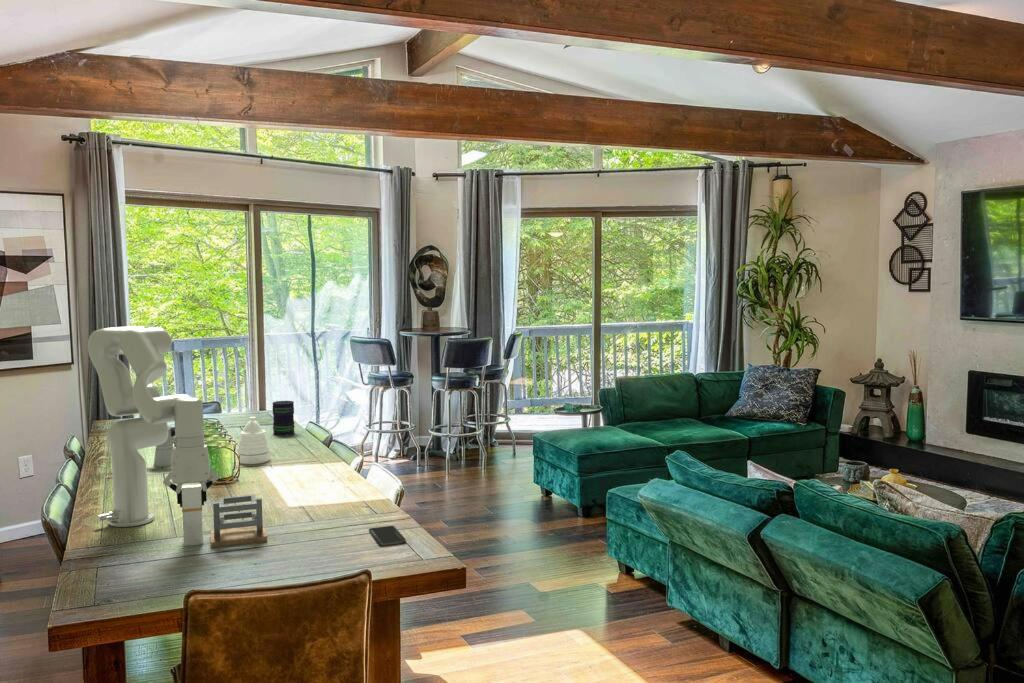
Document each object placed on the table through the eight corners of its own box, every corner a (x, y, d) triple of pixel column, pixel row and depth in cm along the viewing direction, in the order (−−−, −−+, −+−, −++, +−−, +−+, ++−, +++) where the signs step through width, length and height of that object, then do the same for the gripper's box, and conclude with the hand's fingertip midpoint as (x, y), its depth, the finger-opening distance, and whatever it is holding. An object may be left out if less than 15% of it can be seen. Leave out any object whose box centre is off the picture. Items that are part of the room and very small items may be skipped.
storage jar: (272, 432, 389) (272, 401, 388) (294, 430, 392) (293, 400, 391) (273, 436, 380) (272, 404, 378) (295, 434, 383) (294, 403, 381)
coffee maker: (143, 466, 322) (142, 421, 321) (158, 461, 331) (156, 417, 329) (176, 468, 319) (175, 422, 317) (190, 463, 327) (189, 418, 326)
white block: (183, 546, 228) (181, 490, 227) (184, 540, 233) (181, 485, 231) (203, 544, 230) (201, 488, 228) (203, 538, 235) (201, 483, 233)
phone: (379, 544, 227) (368, 528, 241) (379, 548, 227) (368, 532, 241) (407, 540, 230) (394, 525, 244) (407, 544, 230) (394, 529, 244)
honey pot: (271, 462, 328) (270, 418, 327) (237, 465, 323) (236, 420, 322) (268, 455, 340) (267, 412, 339) (236, 458, 335) (234, 415, 334)
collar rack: (211, 547, 227) (209, 508, 226) (211, 535, 237) (209, 498, 236) (267, 541, 232) (266, 503, 231) (264, 529, 242) (263, 493, 241)
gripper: (155, 446, 222) (158, 512, 224) (222, 442, 228) (224, 505, 230) (157, 441, 229) (160, 504, 231) (221, 437, 235) (223, 498, 237)
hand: (192, 504), depth 230 cm, fingers closed on white block, 5 cm apart
